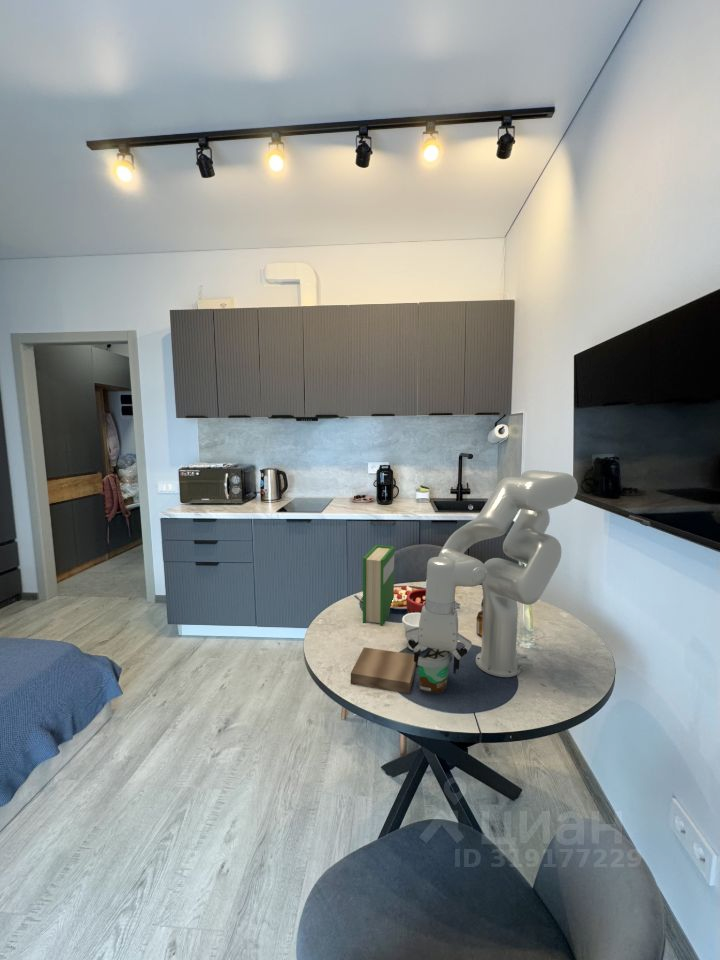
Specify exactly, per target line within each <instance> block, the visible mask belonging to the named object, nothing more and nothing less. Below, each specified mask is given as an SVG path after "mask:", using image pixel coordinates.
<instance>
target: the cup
mask: <svg viewBox="0 0 720 960" xmlns="http://www.w3.org/2000/svg"><path fill="white" fill-rule="evenodd" d="M420 616H421V613H409V614H408V613H406V614H405V615H403V616H402V618H401V623H402V625H403V628H404V632H406V631H409V630H412V629H415V628H418V627H419V623H420ZM412 639H413V640H414V641H415V642H417V641H418V634H416V635H413V636H412ZM406 643H407V647H408V649H409V650H411V651H413V649H412V647H411V646H410V645H409V644H408V641H407V640H406ZM426 650H428V648H427V647H422V648H421V651H420V653H421V652H422V653H423V652H425V651H426ZM413 652H414V651H413Z"/></svg>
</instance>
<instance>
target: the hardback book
mask: <svg viewBox="0 0 720 960" xmlns="http://www.w3.org/2000/svg"><path fill="white" fill-rule="evenodd" d="M394 588H395V546H392V545H390V546H389V545H380V544H375V545H374V546H373V547H372V548H371V549H370V550H369V551H368V552H367V553H366V555H364V556H363V557H362V624H364V623H365V624H366V623H367V622H371V623H378V624H380V625H379V626H381V627H383V626H384V625H385V624H386V621H387V620H388V618H387V617H389V616H388V615H390V614H391V612H390V606H391V603H392V600H393V598H394V595H395V594H394V593H395V591H394V590H395V589H394ZM389 613H390V614H389ZM366 621H367V622H366Z"/></svg>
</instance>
